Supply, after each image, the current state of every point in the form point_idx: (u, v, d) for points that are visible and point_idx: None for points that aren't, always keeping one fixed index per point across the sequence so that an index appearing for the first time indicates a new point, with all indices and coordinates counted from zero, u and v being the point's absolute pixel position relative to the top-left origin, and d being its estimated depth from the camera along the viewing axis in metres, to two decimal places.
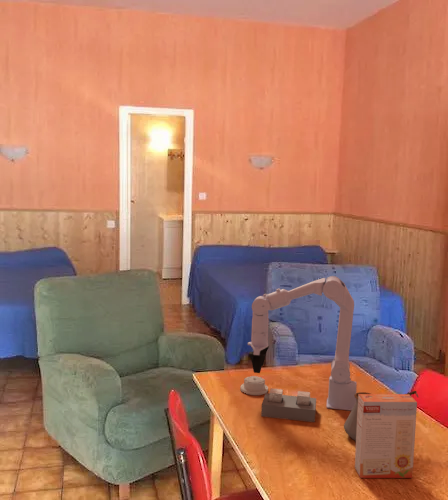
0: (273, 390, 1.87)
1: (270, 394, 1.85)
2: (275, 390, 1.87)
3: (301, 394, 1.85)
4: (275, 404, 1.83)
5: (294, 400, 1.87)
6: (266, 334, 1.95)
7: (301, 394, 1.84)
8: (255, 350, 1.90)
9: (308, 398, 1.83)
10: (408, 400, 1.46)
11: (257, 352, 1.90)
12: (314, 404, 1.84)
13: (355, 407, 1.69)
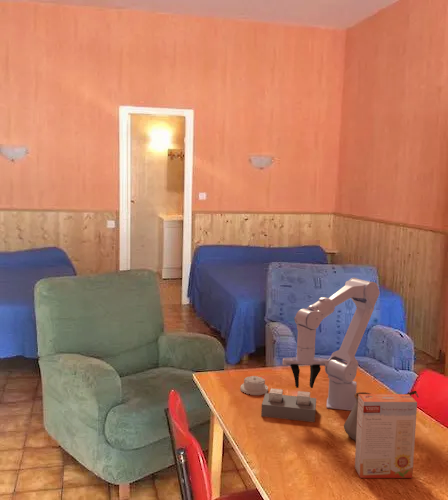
0: (273, 390, 1.87)
1: (270, 394, 1.85)
2: (275, 390, 1.87)
3: (301, 394, 1.85)
4: (275, 404, 1.83)
5: (294, 400, 1.87)
6: (303, 350, 1.80)
7: (301, 394, 1.84)
8: None
9: (308, 398, 1.83)
10: (408, 400, 1.46)
11: (283, 362, 1.83)
12: (314, 404, 1.84)
13: (355, 407, 1.69)
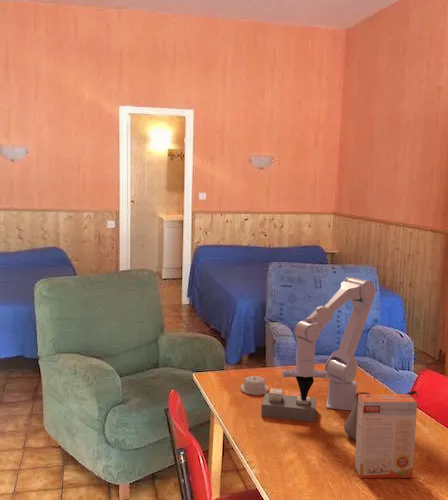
0: (273, 390, 1.87)
1: (270, 394, 1.85)
2: (275, 390, 1.87)
3: (300, 398, 1.85)
4: (275, 404, 1.83)
5: (294, 400, 1.87)
6: (302, 362, 1.81)
7: (301, 399, 1.84)
8: (282, 371, 1.84)
9: (308, 403, 1.83)
10: (408, 400, 1.46)
11: (282, 374, 1.83)
12: (314, 404, 1.84)
13: (355, 407, 1.69)
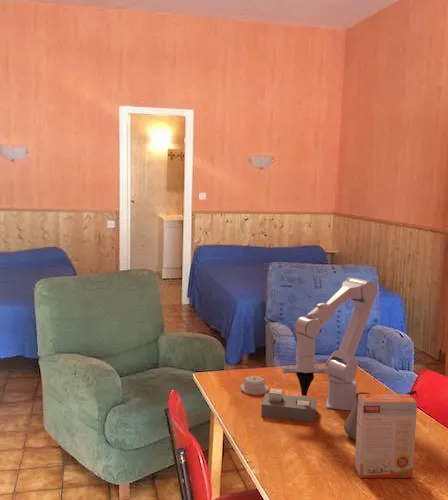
0: (273, 390, 1.87)
1: (270, 394, 1.85)
2: (275, 390, 1.87)
3: (300, 403, 1.85)
4: (275, 404, 1.83)
5: (294, 400, 1.87)
6: (302, 358, 1.81)
7: (301, 403, 1.85)
8: (282, 367, 1.84)
9: None
10: (408, 400, 1.46)
11: (282, 370, 1.83)
12: (314, 404, 1.84)
13: (355, 407, 1.69)
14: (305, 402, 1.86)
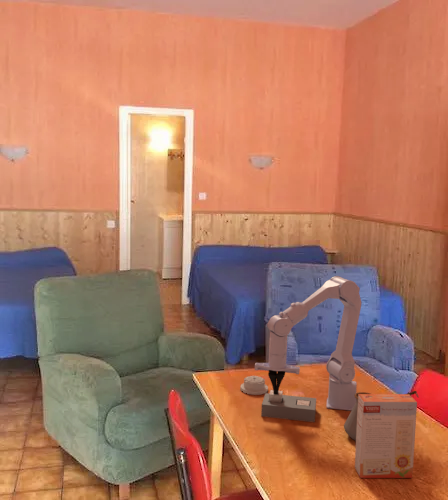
0: (273, 392, 1.87)
1: (270, 396, 1.85)
2: None
3: (300, 403, 1.85)
4: (275, 404, 1.83)
5: (294, 400, 1.87)
6: (272, 356, 1.83)
7: (301, 403, 1.85)
8: (255, 364, 1.87)
9: None
10: (408, 400, 1.46)
11: None
12: (314, 404, 1.84)
13: (355, 407, 1.69)
14: (305, 402, 1.86)
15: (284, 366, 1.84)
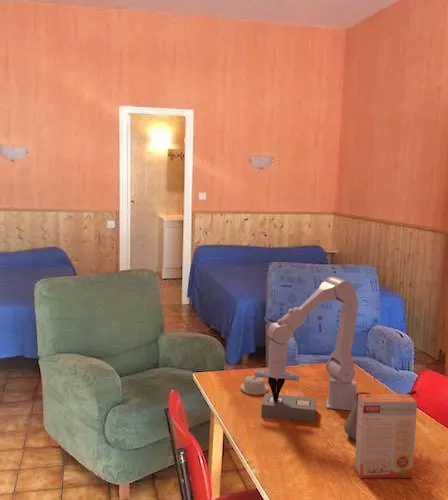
0: None
1: None
2: None
3: (300, 403, 1.85)
4: (275, 404, 1.83)
5: (294, 400, 1.87)
6: (272, 363, 1.83)
7: (301, 403, 1.85)
8: (255, 371, 1.88)
9: None
10: (408, 400, 1.46)
11: None
12: (314, 404, 1.84)
13: (355, 407, 1.69)
14: (305, 402, 1.86)
15: (284, 373, 1.84)
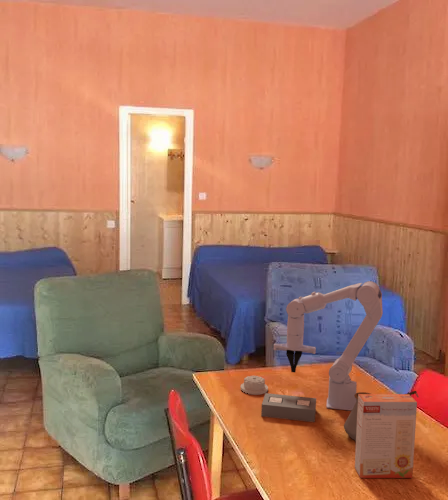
0: (273, 399, 1.87)
1: None
2: (275, 399, 1.87)
3: (300, 403, 1.85)
4: (275, 404, 1.83)
5: (294, 400, 1.87)
6: (290, 336, 1.95)
7: (301, 403, 1.85)
8: None
9: None
10: (408, 400, 1.46)
11: None
12: (314, 404, 1.84)
13: (355, 407, 1.69)
14: (305, 402, 1.86)
15: (301, 346, 1.96)
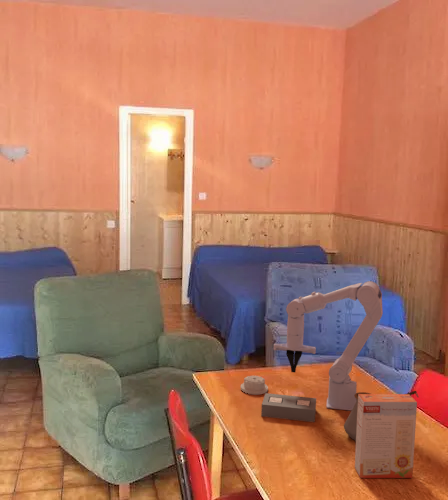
0: (273, 399, 1.87)
1: None
2: (275, 399, 1.87)
3: (300, 403, 1.85)
4: (275, 404, 1.83)
5: (294, 400, 1.87)
6: (290, 336, 1.95)
7: (301, 403, 1.85)
8: None
9: None
10: (408, 400, 1.46)
11: None
12: (314, 404, 1.84)
13: (355, 407, 1.69)
14: (305, 402, 1.86)
15: (301, 346, 1.96)
